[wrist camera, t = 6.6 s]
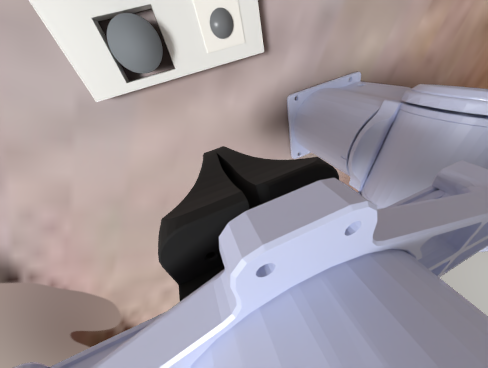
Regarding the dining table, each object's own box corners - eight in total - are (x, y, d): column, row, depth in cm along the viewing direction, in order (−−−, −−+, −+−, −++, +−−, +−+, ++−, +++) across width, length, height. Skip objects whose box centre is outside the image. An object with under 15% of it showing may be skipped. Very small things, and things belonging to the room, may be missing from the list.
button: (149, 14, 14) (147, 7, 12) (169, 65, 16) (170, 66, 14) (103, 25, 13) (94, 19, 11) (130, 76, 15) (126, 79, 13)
